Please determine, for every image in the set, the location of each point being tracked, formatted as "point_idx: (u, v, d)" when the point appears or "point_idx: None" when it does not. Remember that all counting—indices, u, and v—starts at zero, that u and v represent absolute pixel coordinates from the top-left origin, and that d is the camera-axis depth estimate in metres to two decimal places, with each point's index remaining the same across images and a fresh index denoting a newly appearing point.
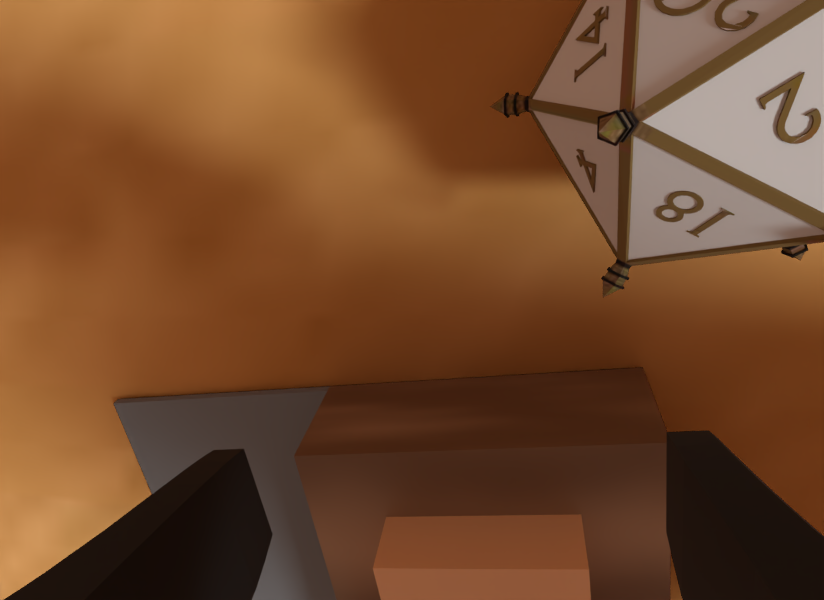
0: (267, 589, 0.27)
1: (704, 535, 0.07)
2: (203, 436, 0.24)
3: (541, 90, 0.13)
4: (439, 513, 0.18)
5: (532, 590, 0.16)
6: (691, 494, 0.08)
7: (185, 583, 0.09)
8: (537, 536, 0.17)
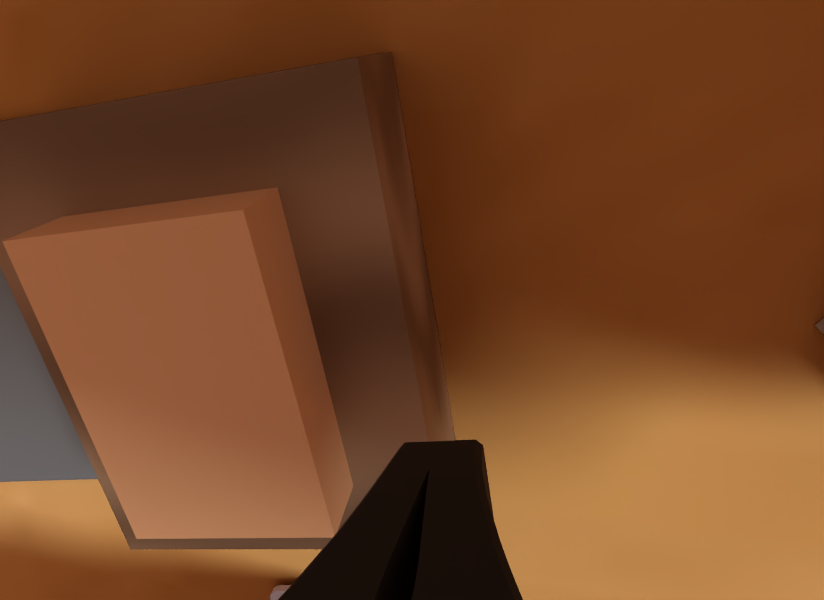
0: (35, 403, 0.23)
1: None
2: None
3: None
4: (119, 203, 0.15)
5: (187, 253, 0.13)
6: None
7: None
8: (211, 203, 0.14)
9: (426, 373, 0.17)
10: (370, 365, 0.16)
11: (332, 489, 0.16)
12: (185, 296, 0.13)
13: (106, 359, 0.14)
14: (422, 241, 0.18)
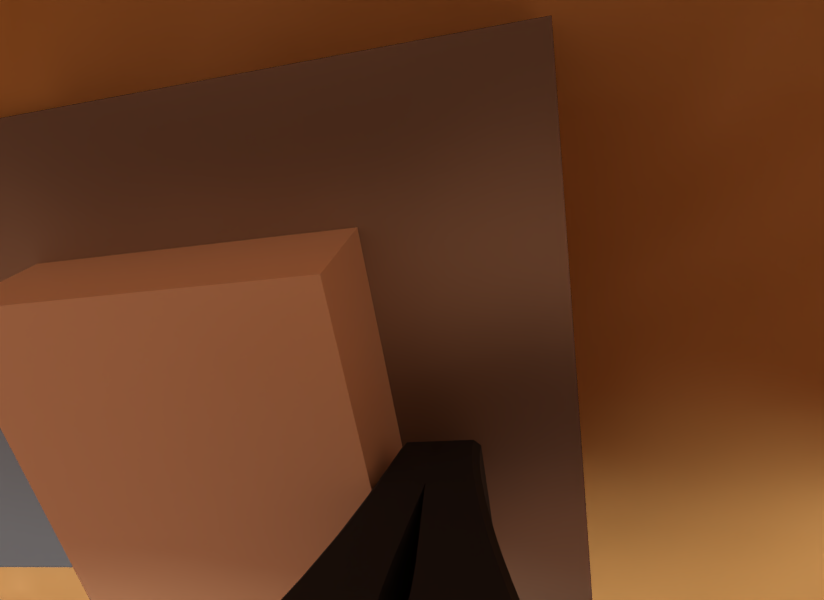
0: None
1: None
2: None
3: None
4: (155, 244, 0.10)
5: (226, 336, 0.08)
6: None
7: None
8: (260, 253, 0.09)
9: None
10: (516, 473, 0.11)
11: None
12: (221, 399, 0.09)
13: (99, 479, 0.10)
14: None
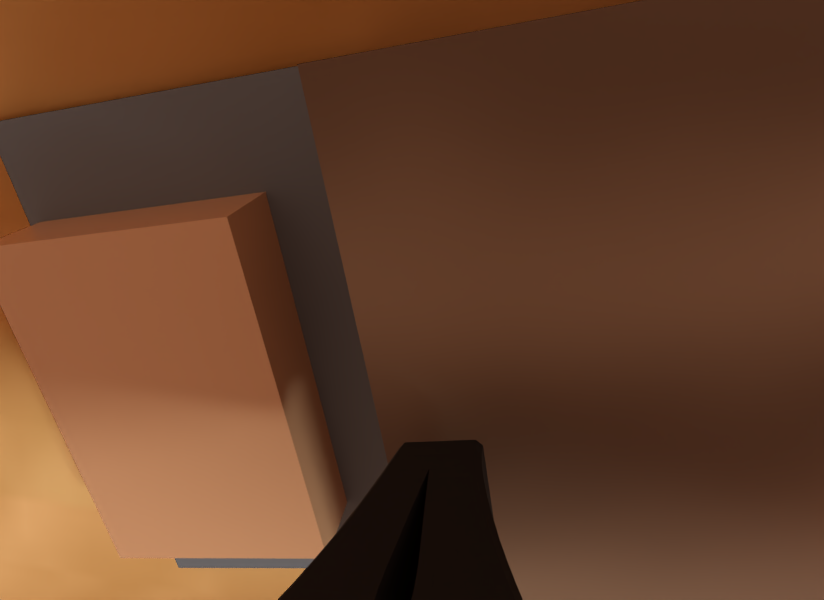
0: None
1: None
2: (141, 179, 0.14)
3: None
4: (612, 188, 0.09)
5: None
6: None
7: None
8: (52, 230, 0.13)
9: None
10: None
11: None
12: None
13: None
14: None
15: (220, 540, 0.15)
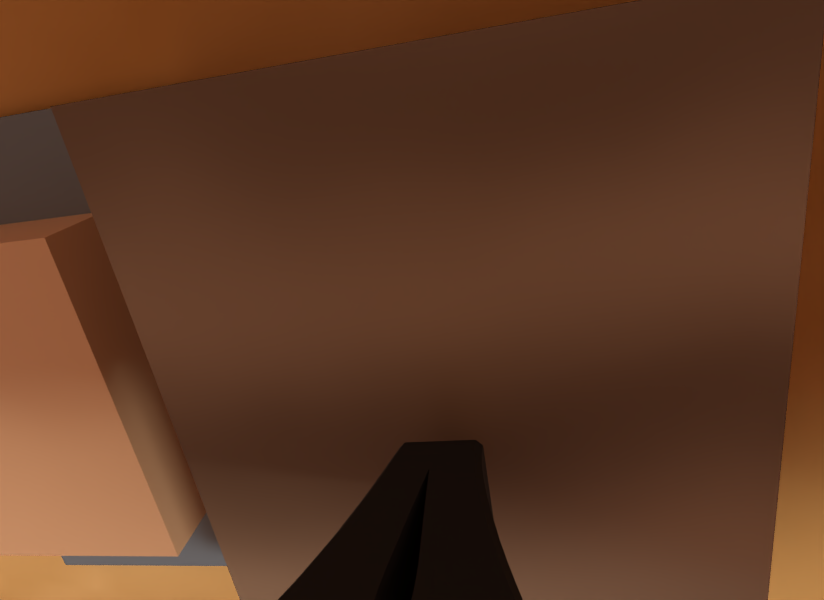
0: None
1: None
2: None
3: None
4: (337, 220, 0.09)
5: None
6: None
7: None
8: None
9: None
10: (705, 468, 0.10)
11: None
12: None
13: None
14: None
15: (79, 538, 0.16)
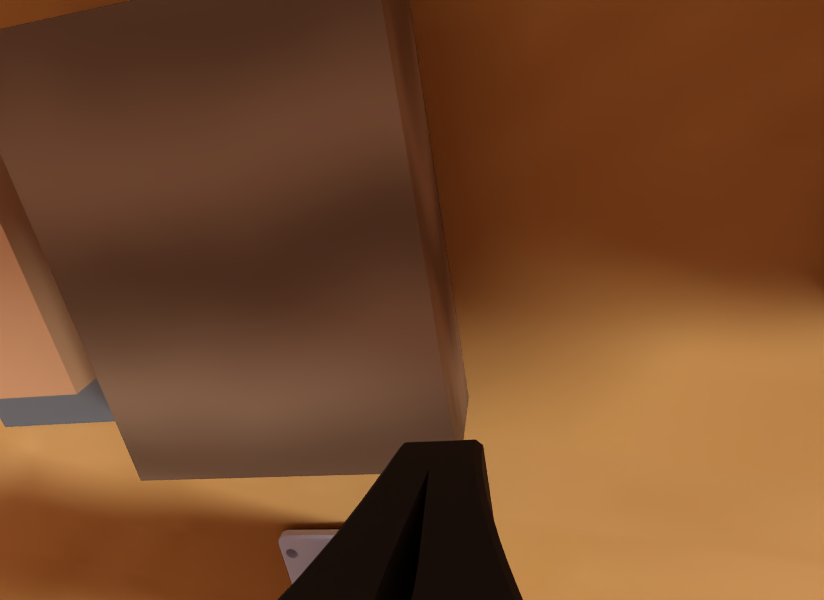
0: None
1: None
2: None
3: None
4: (132, 111, 0.15)
5: None
6: None
7: None
8: None
9: (438, 292, 0.17)
10: (383, 278, 0.16)
11: None
12: None
13: None
14: (433, 165, 0.18)
15: (5, 383, 0.22)
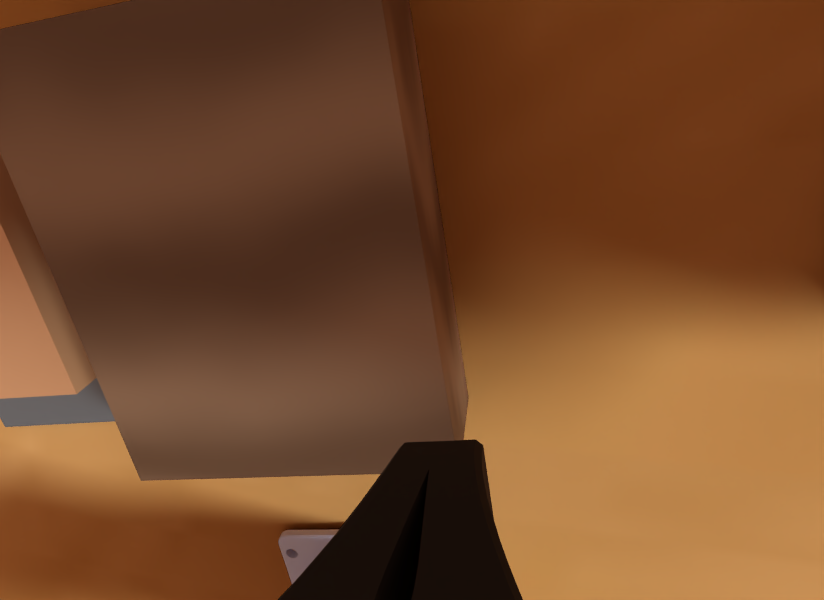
0: None
1: None
2: None
3: None
4: (132, 111, 0.15)
5: None
6: None
7: None
8: None
9: (438, 292, 0.17)
10: (383, 278, 0.16)
11: None
12: None
13: None
14: (433, 165, 0.18)
15: (5, 383, 0.22)
